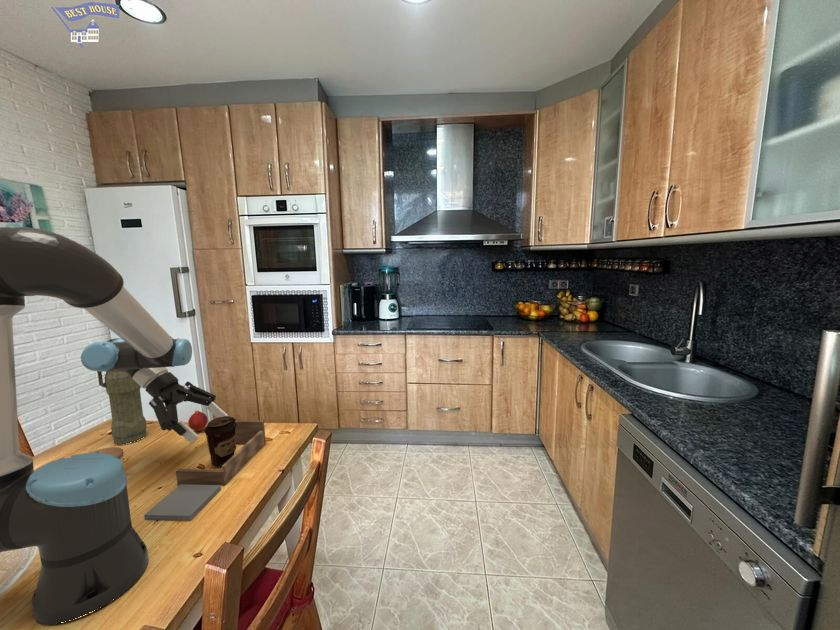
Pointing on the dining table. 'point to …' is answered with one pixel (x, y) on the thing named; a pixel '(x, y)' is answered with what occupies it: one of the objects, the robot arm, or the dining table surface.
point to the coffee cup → (221, 439)
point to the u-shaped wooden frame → (246, 435)
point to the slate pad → (183, 502)
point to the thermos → (124, 406)
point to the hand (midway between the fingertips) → (211, 428)
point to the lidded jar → (112, 452)
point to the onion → (198, 421)
